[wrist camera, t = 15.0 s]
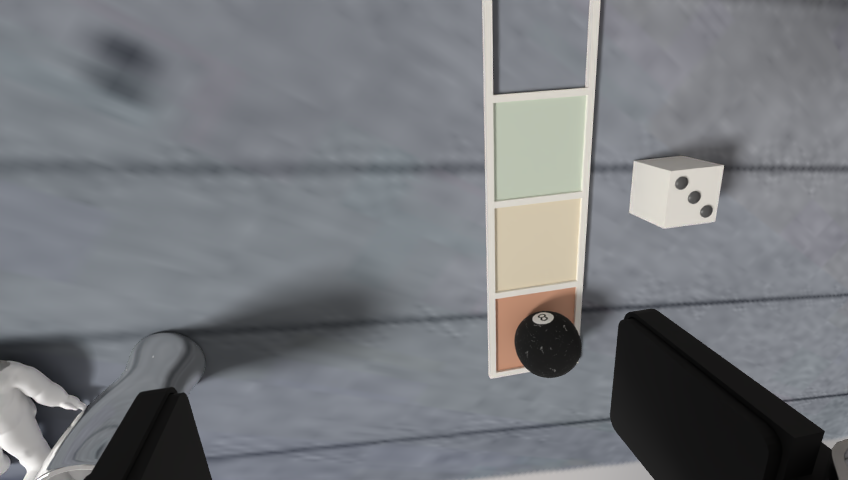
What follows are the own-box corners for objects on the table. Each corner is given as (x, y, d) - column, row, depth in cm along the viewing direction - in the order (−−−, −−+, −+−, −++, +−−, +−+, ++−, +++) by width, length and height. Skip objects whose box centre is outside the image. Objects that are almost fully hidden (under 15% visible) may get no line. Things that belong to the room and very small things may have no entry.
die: (633, 160, 43) (672, 171, 38) (682, 155, 44) (725, 165, 39) (628, 212, 45) (664, 229, 40) (675, 206, 45) (716, 222, 41)
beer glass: (228, 360, 42) (178, 502, 28) (173, 408, 42) (97, 571, 28) (163, 311, 39) (73, 441, 25) (105, 363, 40) (-15, 518, 26)
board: (481, -29, 35) (484, -31, 35) (598, -33, 37) (602, -35, 36) (488, 375, 48) (490, 378, 47) (575, 359, 49) (578, 363, 49)
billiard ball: (511, 360, 47) (535, 398, 42) (501, 311, 45) (525, 344, 40) (565, 343, 48) (596, 378, 42) (558, 293, 46) (589, 323, 40)
